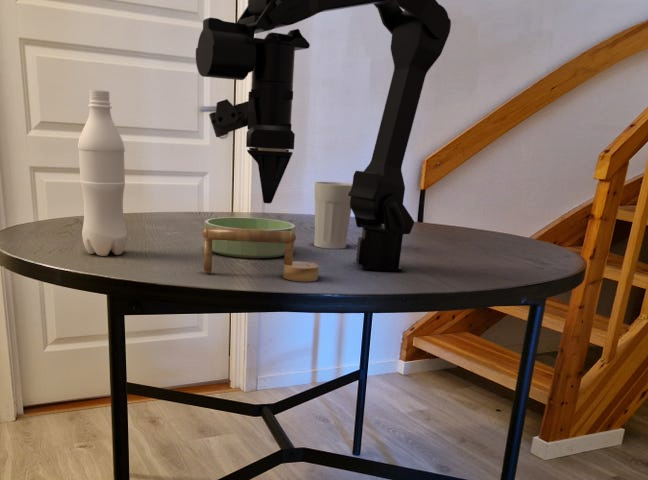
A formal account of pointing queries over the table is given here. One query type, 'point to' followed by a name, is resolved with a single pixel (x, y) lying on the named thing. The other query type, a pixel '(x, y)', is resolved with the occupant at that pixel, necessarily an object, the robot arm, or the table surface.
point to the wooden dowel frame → (291, 269)
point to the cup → (332, 214)
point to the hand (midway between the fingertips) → (267, 199)
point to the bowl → (249, 248)
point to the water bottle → (102, 179)
